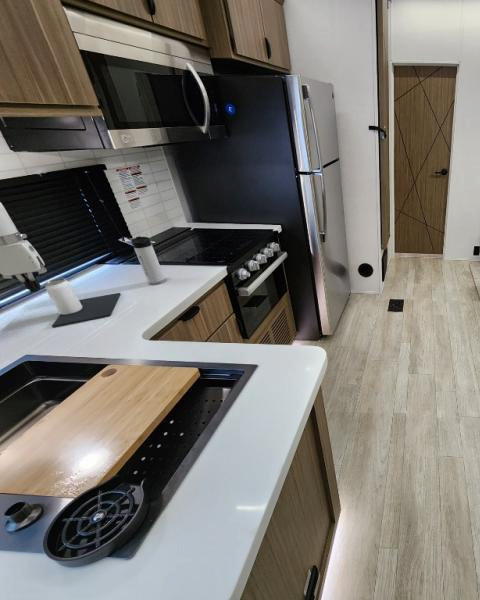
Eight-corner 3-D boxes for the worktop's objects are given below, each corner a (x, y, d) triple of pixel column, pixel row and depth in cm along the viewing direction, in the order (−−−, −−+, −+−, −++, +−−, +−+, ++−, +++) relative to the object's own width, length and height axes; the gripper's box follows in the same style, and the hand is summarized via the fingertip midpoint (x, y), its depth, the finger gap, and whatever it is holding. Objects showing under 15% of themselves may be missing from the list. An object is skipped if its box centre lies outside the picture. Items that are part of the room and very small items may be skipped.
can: (56, 316, 118) (39, 286, 113) (64, 308, 124) (47, 279, 118) (79, 313, 121) (63, 283, 115) (85, 305, 126) (70, 276, 120)
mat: (52, 327, 113) (51, 325, 113) (70, 303, 129) (69, 301, 129) (110, 316, 120) (109, 314, 120) (120, 294, 136) (120, 292, 135)
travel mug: (163, 277, 150) (146, 234, 140) (167, 281, 146) (150, 238, 136) (147, 281, 146) (129, 238, 137) (150, 286, 142) (132, 241, 132)
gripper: (40, 233, 112) (67, 281, 121) (-22, 240, 106) (11, 291, 115) (31, 239, 106) (60, 289, 115) (-35, 247, 100) (1, 300, 109)
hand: (35, 290), depth 115 cm, fingers closed
